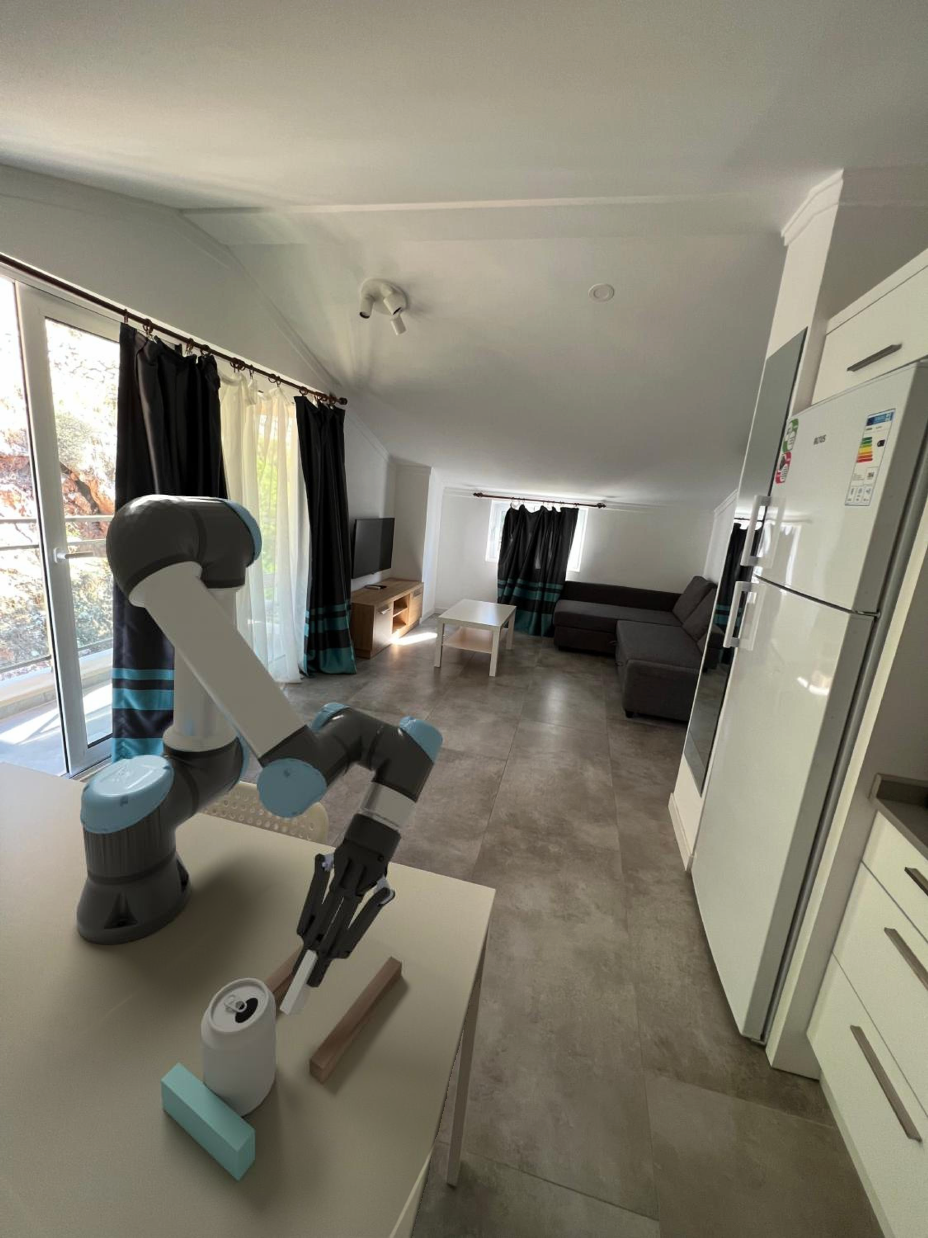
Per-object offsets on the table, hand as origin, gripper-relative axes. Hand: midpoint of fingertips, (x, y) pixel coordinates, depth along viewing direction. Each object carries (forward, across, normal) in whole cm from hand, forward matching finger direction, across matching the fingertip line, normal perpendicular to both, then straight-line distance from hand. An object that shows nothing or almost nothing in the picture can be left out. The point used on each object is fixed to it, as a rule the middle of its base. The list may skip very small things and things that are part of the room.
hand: (289, 1011), depth 61 cm
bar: (+11, 0, +5) cm, 12 cm away
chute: (-1, 0, -8) cm, 8 cm away
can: (+8, +1, +1) cm, 8 cm away
